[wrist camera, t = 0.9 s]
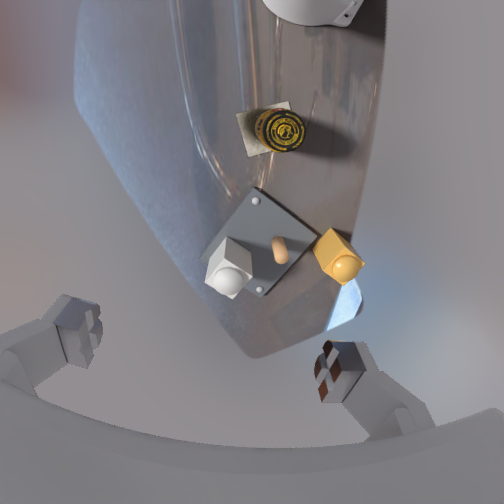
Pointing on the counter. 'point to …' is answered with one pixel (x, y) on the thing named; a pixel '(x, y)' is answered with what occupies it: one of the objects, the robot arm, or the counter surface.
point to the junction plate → (254, 246)
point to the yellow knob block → (337, 257)
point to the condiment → (271, 129)
